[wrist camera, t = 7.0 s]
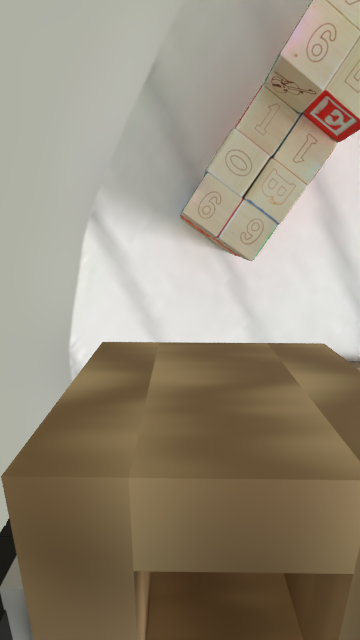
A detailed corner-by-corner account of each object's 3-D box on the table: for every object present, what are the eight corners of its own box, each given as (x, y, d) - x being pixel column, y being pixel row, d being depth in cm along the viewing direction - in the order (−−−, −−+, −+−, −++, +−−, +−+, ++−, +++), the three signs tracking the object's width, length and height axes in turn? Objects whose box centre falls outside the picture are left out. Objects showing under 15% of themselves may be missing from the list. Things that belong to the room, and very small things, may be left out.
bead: (324, 343, 12) (505, 482, 5) (298, 516, 14) (399, 761, 8) (102, 342, 12) (0, 476, 5) (115, 514, 15) (56, 755, 8)
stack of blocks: (230, 255, 30) (262, 268, 18) (179, 218, 29) (177, 206, 17) (383, 42, 25) (562, -132, 13) (327, -10, 24) (466, -247, 12)
